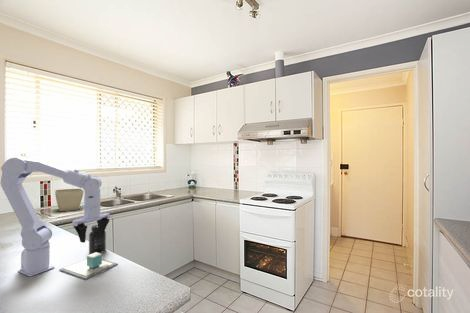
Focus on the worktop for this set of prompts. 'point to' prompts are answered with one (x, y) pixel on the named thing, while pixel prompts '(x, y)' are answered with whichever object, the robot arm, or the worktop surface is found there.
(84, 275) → the clipboard
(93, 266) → the teal-topped white block
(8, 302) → the worktop surface
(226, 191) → the worktop surface
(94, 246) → the supplement bottle
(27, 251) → the robot arm
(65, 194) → the flower pot
